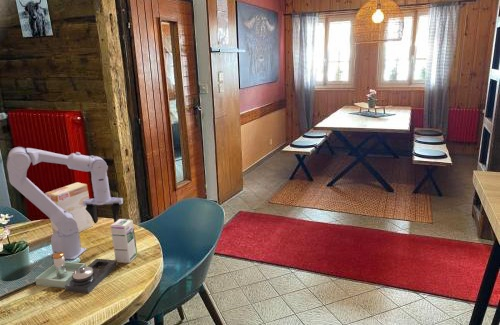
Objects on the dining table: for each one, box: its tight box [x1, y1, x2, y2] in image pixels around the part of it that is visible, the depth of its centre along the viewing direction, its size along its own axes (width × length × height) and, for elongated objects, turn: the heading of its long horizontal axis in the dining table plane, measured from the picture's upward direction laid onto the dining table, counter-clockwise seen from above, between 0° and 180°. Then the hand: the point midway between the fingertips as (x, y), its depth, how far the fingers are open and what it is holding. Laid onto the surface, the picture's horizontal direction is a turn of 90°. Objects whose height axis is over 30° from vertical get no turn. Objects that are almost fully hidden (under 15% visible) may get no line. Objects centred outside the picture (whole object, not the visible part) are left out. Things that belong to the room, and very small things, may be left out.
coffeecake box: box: [45, 181, 94, 234], centre depth 161 cm, size 15×7×20 cm, turn 150°
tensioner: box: [64, 258, 118, 294], centre depth 127 cm, size 8×17×6 cm, turn 168°
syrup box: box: [110, 218, 138, 264], centre depth 138 cm, size 6×6×14 cm
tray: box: [34, 261, 87, 289], centre depth 128 cm, size 11×11×2 cm
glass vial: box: [52, 252, 67, 279], centre depth 128 cm, size 3×3×8 cm
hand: (106, 221), depth 149 cm, fingers open, 7 cm apart
